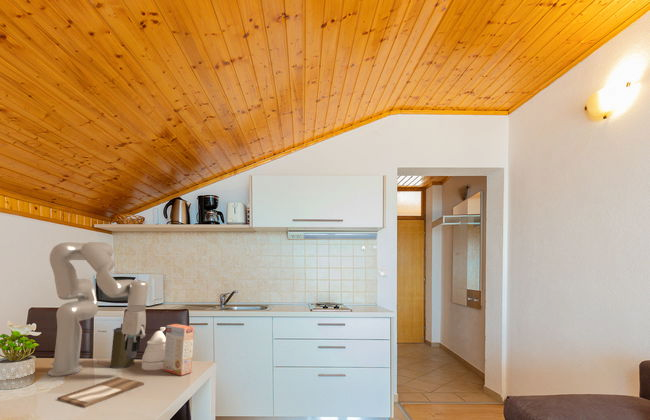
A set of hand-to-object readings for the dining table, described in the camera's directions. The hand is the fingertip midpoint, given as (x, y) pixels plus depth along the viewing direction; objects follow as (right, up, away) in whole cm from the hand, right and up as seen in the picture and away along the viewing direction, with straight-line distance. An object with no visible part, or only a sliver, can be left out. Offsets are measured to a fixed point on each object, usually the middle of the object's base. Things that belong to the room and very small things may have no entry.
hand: (131, 349), depth 153 cm
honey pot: (+4, -14, +14) cm, 20 cm away
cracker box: (+18, -13, +6) cm, 23 cm away
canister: (-13, -14, +15) cm, 24 cm away
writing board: (-1, -9, -18) cm, 20 cm away
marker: (0, -3, 0) cm, 3 cm away
